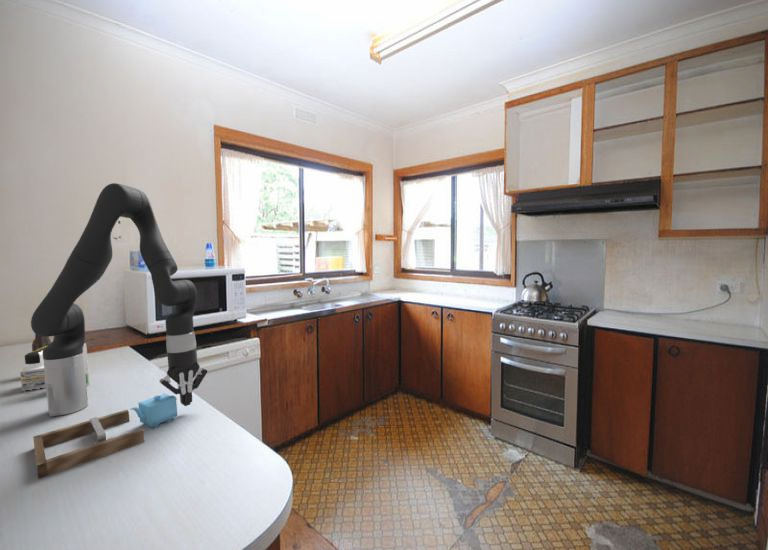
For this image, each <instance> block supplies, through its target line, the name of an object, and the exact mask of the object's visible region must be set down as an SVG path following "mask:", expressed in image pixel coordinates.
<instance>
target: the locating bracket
mask: <svg viewBox="0 0 768 550" xmlns="http://www.w3.org/2000/svg"><path fill="white" fill-rule="evenodd" d="M129 413H130V412H129V410H128V409H125V410H121V411H117V412H114V413H111V414H110V413H109V414H106V415H103V416H100V417H97V418H98V420H99V422H100V424H101V426H102V428H103V429H106V430H107V429H109V428H112V427H115V426H118V425H121V424H124V423H127V422H130V414H129ZM90 434H91V428H90V419H89V420H87V421H83V422H79V423H76V424H72V425H69V426H66V427H63V428H58V429H56V430H52V431H48V432H44V433H40V434H37V435H35V436H34V435H33V437H32V438H33V446H34V453H35V454H34V455H35V462H36V469H37V471H36V472H37V478H38V479H43V478H45V477H48V476H51V475H53V474H56V473H60V472H62V471H65V470H68V469H71V468H73V467H76V466H77V467H78V466H79V465H83V464H84V463H88V462H91V461H94V460H96V459H98V458H99V459H100V458H101V457H105V456H107V455H110V454H113V453H116V452H119V451H122V450H124V449H127V448H130V447H133V446H135V445H138V444H141V443H144V442H145V433H144V429H143V428H139V429H136V430H132V431H129V432H126V433H124V434H120V435H118V436H115V437H111V438H108V439H106V440H105V441H102V442H99V443H93V444H90V445H87V446H84V447H81V448H78V449H75V450H72V451H69V452H65V453H63V454H60V455H57V456H54V457H50V458H47V457H46V452H45V448H48V447H51V446H53V445H57V444H60V443H63V442H66V441H70V440H73V439H76V438H80V437H83V436H86V435H90ZM46 458H47V459H46ZM38 479H37V480H38Z"/></svg>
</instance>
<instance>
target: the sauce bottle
mask: <svg viewBox="0 0 768 550" xmlns="http://www.w3.org/2000/svg"><path fill="white" fill-rule="evenodd" d="M34 336H35V337H34V339H33V341H32V343H31V352H34V351H42V350H44V349H45V348H46V347H47V346H48V345H50V344H51V343H52V342H53V341H52V340H51V339H50V337H42V336H39V335H37V334H35V333H34Z"/></svg>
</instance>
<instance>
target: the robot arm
mask: <svg viewBox="0 0 768 550" xmlns="http://www.w3.org/2000/svg"><path fill="white" fill-rule="evenodd" d="M119 218H126V219H130V220H131V221H132V222H133V223H134V225H135V227H136V228H137V231H138V233H139V253H140V255H141V259H142V261H143V262H144V264H145V266H146V267H147V270H148V271H149V273H150V275H151V277H150V278H151V281H152V285H153V291H154V297H155V298H156V300H157V302H159V303H160V304H161V305H163V306H166V307H175V310H174V311H173V312H171V313H169V314H167V315H166V317H165V321H164V322H165V332H166V333H165V335H166V341H165V342H166V343H165V344H166V353H167V354H166V355H167V365H168V370H167V372H166V375H165V377H163V378H160V379H159V383H160V384H161V385H162V386H163V387H165V388H167V389H168V390H169V391H170V392H172V393H173V394H174V395H179V400H180V404H181V405H182V406H184V407H187V406H190V405H191V404H192V402H193V391H195V389H198V388H199V386H200V385H201V383H202V381H203V380H204V378H205V376H206V375H207V374H208V370H207V369H206V368H205V367H201V366H200V364H199V363H198V352H197V351H198V350H197V340H196V334H195V330H194V328H195V327H194V315H195V310H196V304H197V299H198V290H197V288H196V285H195V284H194V283H193V282H192V281H191V280H189V279H179V280H178V279H177V280H172V278H171V276H173V275H174V274H176V273H177V271H178V269H179V268H178V265H177V262H176V260H175V259H174V257H173V256H172V254H171V251H170V250H169V249H168V246H167V244H166V243H165V241H164V238H163V236H162V233H161V231H160V228H159V226H158V225H159V224H158V222H157V220H156V217H155V213H154V211H153V208H152V204H151V201H150V199H149V197H148V196H147V195H146V193H145V192H144V191H142V190H141V189H137V188H135V187H132V186H128V185H124V184H121V183H117V182H114V183H113V182H112V183H109V184H107V185H105V186H104V188H103V189H102V190H101V192H100V194H99V195H98V197H97V199H96V202H95V204H94V207H93V210H92V213H91V214H90V216H89V219H88V222H87V224H86V225H85V228H84V230H83V231H82V234H81V235H80V238H79V239H78V241H77V243H76V245H75V246H74V248H73V249H72V251H71V253H70V255H69V256H68V258H67V260H66V262H65V264H64V267H63V269H62V270H61V272H60V273H59V275H58V277H57V278H56V280H55V282H54V283H53V284H52V286H51V288H50V290H49V291H48V292H47V294H46V295H45V297H44V298H43V299H42V301H41V302H40V303H39V305H37V307H36V309H35V310H34V312H33V314H32V316H31V320H30V326H31V330H32V331H33V333H34V335H35V334H37V335H39V336H42V337H49V338H50V337H54V339H53V340H52V341H51V342H52V343H51V344H50V345H48V346H47V347H46V348H45V349H44V350H43V362H44V371H45V380H46V382H45V385H46V388H45V393H46V394H45V395H46V402H47V411H48V416H49V417H50V418H52V417H55V416H63V415H69V414H72V413H76V412H79V411H81V410H84V409H85V408H87V407H88V406H89V401H88V400H89V398H88V389H87V385H86V377H85V367H84V356H83V346H84V343H85V342H86V324H85V322H86V321H85V316H84V312H83V309H82V308H81V307H80V306H79V305H78V304H77V303H75V302H76V301H77V300H78V298H80V296H82V295H83V294H84V293H85V292H87V290H89V289H91V287H93V286H94V285H95V284H96V283H97V282H98V281H99V280H100V279H101V278H102V276H103V275H104V274H105V272H106V270H108V267H109V266H110V263H111V261H112V259H113V246H112V245H113V244H112V238H111V237H112V236H111V235H112V231H113V228H114V227H115V225H116V223H117V221H118V220H119ZM85 344H86V343H85ZM171 380H172V381H173V382H175V383H176V385H177V388H176V387H175V386H173V385H172V384H171V382H172V381H171Z"/></svg>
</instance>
